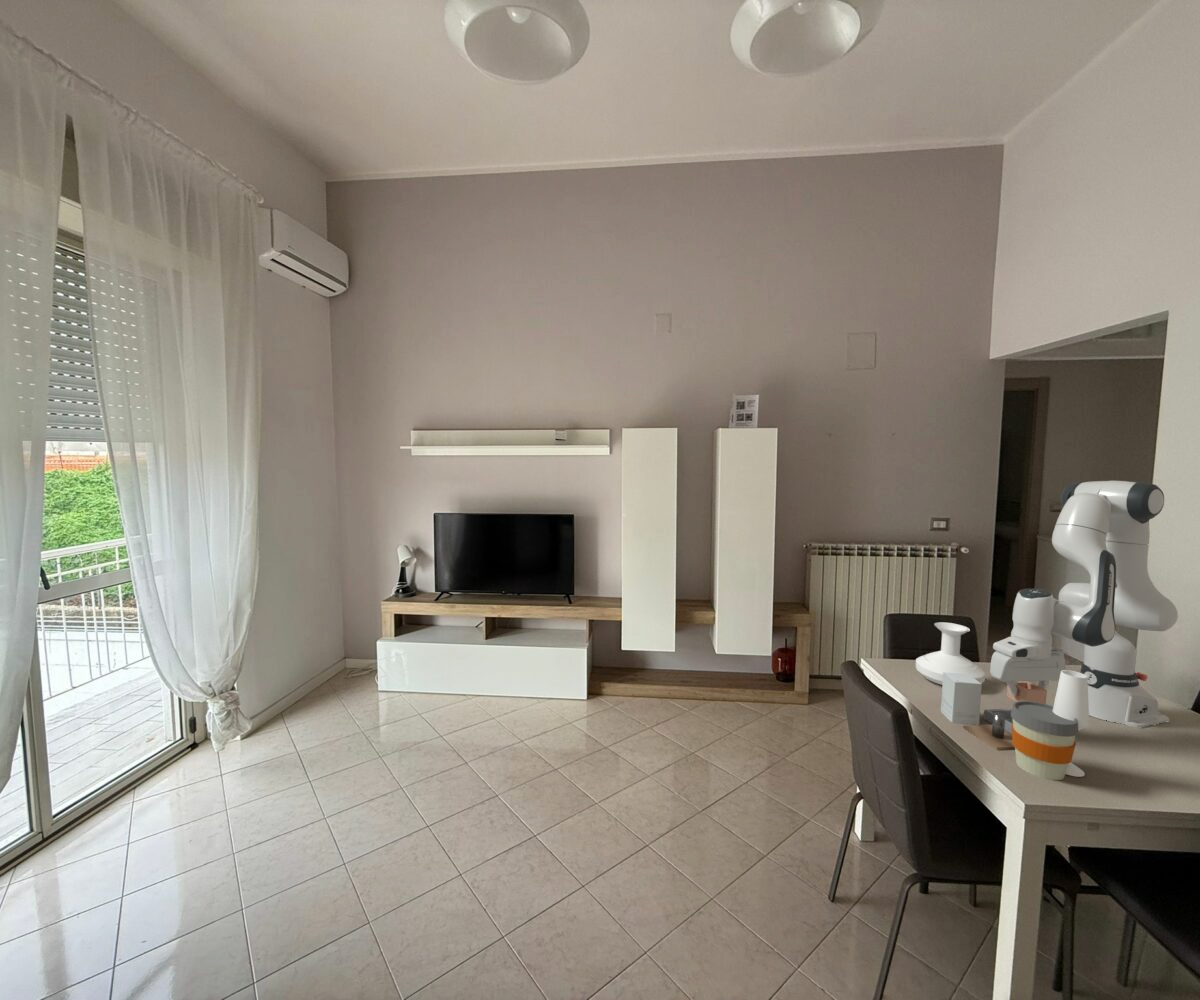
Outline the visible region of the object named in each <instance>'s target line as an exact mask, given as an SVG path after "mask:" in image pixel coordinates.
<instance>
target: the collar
mask: <svg viewBox="0 0 1200 1000" xmlns="http://www.w3.org/2000/svg"><path fill="white" fill-rule="evenodd" d="M1015 686H1016V688H1017V689H1018V690H1020V693H1019V694H1020V695H1019V696H1013V695H1011V694H1010V693H1009V690H1010V688H1009V686H1008V684H1007V687H1006V697H1007V698H1009V699H1010V700H1012V701H1015V702H1017V701H1031V702H1038V703H1043V704H1047V697H1048V696H1047V694H1048V690H1047V689H1046V688H1045V689H1043V688H1041V687H1039V686H1037V684H1035V683H1033V682H1031V681H1018V682H1017V685H1015Z"/></svg>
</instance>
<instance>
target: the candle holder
mask: <svg viewBox="0 0 1200 1000" xmlns="http://www.w3.org/2000/svg"><path fill="white" fill-rule="evenodd" d="M933 624H934V626H935V628H937V629H938V630H939V631H940V632H941V643H940V644H941V645H940V650H938V651H937V650H936V651H933V652H930V653H926V654H923V655H921V656H918V657H917V658H915V669H916V670H917V671H918V672H919V673H920V674H921V675H923V677H924V678H926V679H927V680H928V681H931V682H933V683H935V684H938V685H941V686H942V684H943V672H945V673H960V674H969V675H971V676H972V677H973V678H974V679H976V680H977V681H978V682H980V683H981V684H982V685H983V683H985V679H986V674H985V672H984V670H983V669H982V668H980V667H979V666H978V665H977V664H976V663H974V662H972V660H970V659H968V658H966V657H964V656H963V654H961V653H960V652H961V650H960V649H961V639H962V638H961V637H962V635H964V634H966V633H968V632H970V631H971V630H970V628H969V627H967V626H965V625H961V624H957V623H952V622H943V621H942V622H941V621H940V622H935V623H933Z"/></svg>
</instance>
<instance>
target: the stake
mask: <svg viewBox="0 0 1200 1000" xmlns="http://www.w3.org/2000/svg"><path fill="white" fill-rule="evenodd" d="M991 725H992V724H991ZM1004 729H1005V715H1004V714H1002V713H998V712H994V713H993V725H992V736H993V737H995V738H998V739H1004Z"/></svg>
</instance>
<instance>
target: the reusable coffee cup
mask: <svg viewBox="0 0 1200 1000" xmlns="http://www.w3.org/2000/svg"><path fill="white" fill-rule="evenodd" d="M1053 706H1054V705H1050V704H1047V703H1046V704H1043V703H1038V702H1031V701H1017V702H1016V701H1015V702H1013V703H1012V707H1011V709H1012V711H1011V717H1012V718H1013V724H1012V725H1011V730H1012V742H1013V746H1014V747H1015V749H1014V750H1015V751H1014V752H1015V762H1016V765H1017V766H1018V767H1019V768H1020V769H1021V770H1023V771H1024V772H1027V773H1028V774H1031V775H1033V776H1035V777H1038V778H1041V779H1046V780H1049V781H1051V780H1052V781H1060V780H1061V781H1062V780H1064V779H1065V776H1066V774H1065V773H1066V769H1067V766H1068V763H1070V762H1071V763H1072V759H1073V758H1074V757H1073V756H1074V753H1075V748H1076V741H1075V740H1076V736H1078V734H1079V730H1078V720H1077V719H1076V718H1075V719H1074V721H1072V720H1068V719H1065V718H1062V717H1060V716H1058V715H1056V714H1055V713H1053Z"/></svg>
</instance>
